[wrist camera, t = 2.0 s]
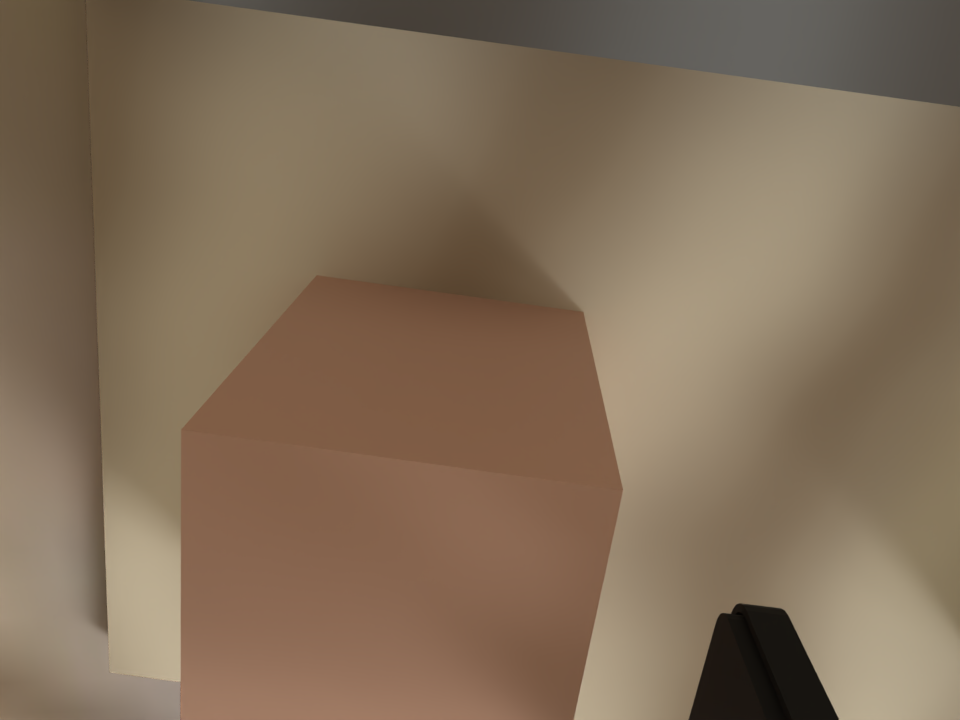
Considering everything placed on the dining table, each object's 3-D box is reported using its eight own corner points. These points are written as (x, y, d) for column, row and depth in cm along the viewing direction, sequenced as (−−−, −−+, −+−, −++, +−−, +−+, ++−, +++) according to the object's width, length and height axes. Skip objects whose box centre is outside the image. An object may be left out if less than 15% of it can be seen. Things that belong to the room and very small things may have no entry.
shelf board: (1783, 123, 13) (2128, 146, 10) (1329, 810, 18) (1478, 952, 15) (107, -108, 13) (-8, -149, 10) (126, 646, 18) (53, 757, 15)
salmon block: (312, 275, 14) (174, 428, 9) (587, 312, 14) (630, 491, 9) (292, 617, 17) (174, 910, 11) (526, 648, 17) (527, 959, 11)
